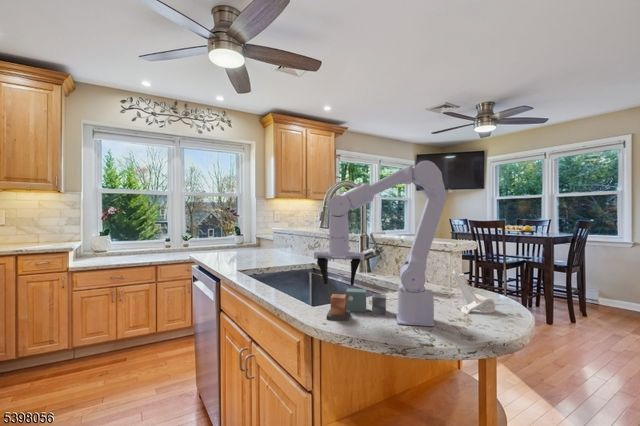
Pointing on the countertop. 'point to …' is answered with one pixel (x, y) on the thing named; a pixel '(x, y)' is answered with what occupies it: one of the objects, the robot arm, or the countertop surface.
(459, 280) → the plastic part
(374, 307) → the slate block
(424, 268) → the robot arm
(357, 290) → the box
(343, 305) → the terracotta block
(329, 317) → the mat
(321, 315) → the countertop surface
